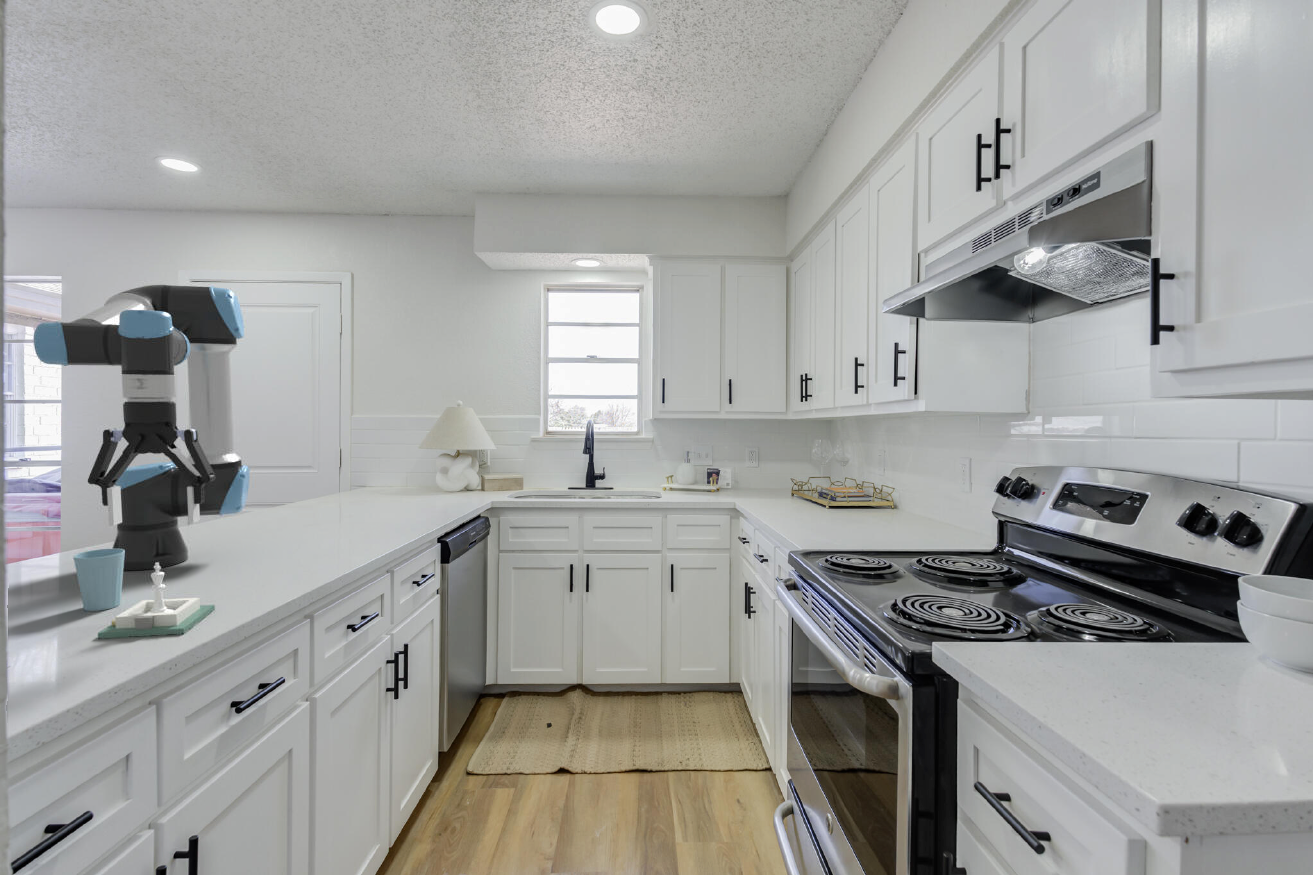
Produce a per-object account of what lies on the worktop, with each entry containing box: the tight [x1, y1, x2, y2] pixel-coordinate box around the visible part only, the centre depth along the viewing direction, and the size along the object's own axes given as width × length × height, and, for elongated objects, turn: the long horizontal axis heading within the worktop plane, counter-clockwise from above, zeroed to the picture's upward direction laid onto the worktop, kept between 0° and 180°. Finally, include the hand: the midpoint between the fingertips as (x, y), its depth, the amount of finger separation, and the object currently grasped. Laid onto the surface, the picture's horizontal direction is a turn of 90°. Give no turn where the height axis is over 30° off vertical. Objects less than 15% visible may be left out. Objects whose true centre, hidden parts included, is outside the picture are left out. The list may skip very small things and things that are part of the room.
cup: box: [73, 548, 125, 612], centre depth 136 cm, size 8×8×10 cm
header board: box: [97, 597, 216, 639], centre depth 127 cm, size 13×13×3 cm
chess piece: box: [146, 563, 174, 614], centre depth 127 cm, size 5×5×10 cm
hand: (155, 523), depth 126 cm, fingers open, 12 cm apart
